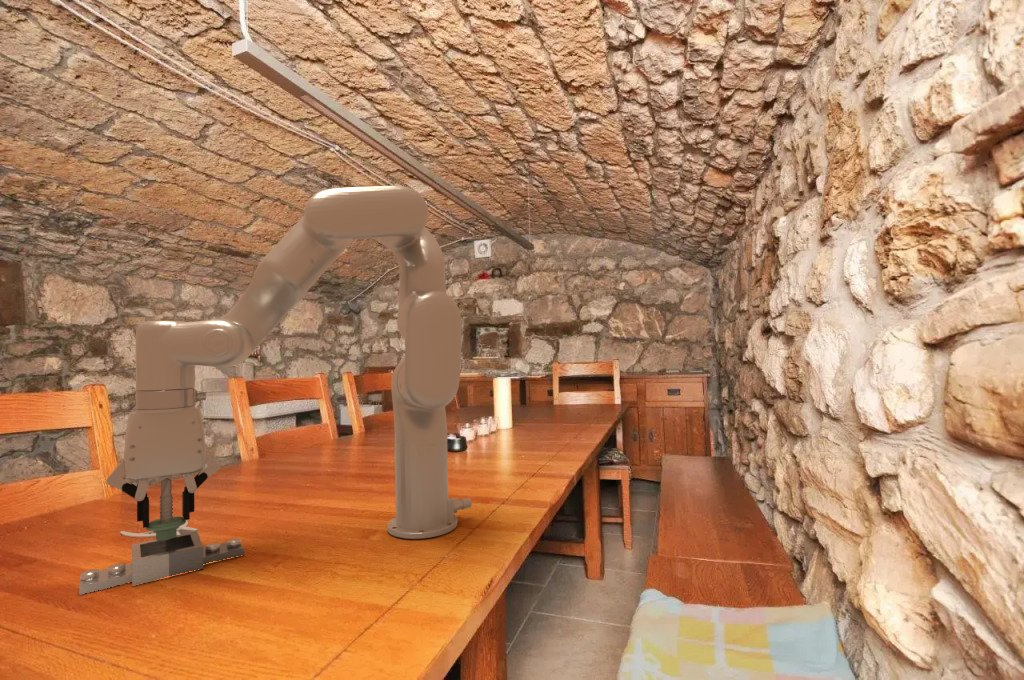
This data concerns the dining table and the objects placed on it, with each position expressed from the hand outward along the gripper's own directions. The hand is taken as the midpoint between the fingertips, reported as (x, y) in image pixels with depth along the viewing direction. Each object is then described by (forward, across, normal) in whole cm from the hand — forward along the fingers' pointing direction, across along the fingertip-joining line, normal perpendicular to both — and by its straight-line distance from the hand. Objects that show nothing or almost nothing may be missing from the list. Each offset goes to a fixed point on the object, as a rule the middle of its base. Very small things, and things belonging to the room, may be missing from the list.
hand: (166, 520), depth 76 cm
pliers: (+8, -1, -20) cm, 21 cm away
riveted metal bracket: (+7, 0, 0) cm, 7 cm away
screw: (+3, 0, 0) cm, 3 cm away
